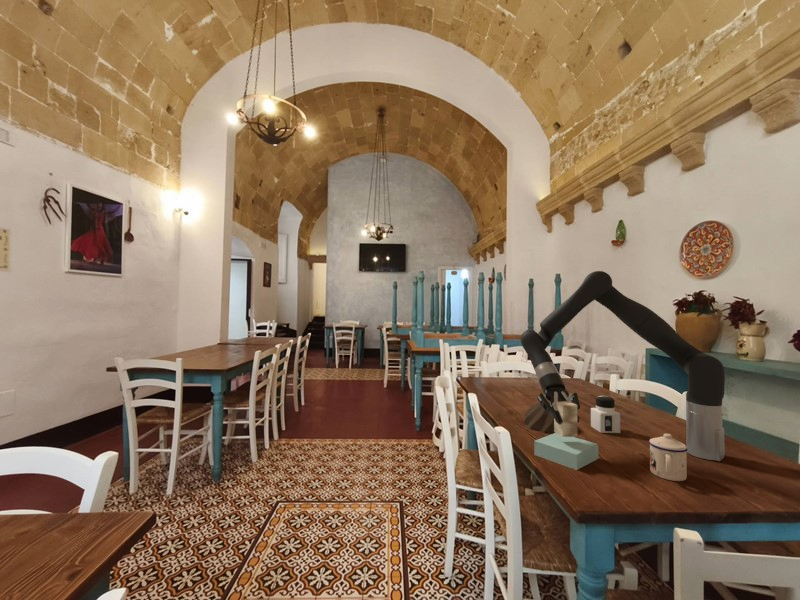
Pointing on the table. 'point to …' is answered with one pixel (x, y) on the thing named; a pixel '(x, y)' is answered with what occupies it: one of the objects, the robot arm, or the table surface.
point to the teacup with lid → (668, 458)
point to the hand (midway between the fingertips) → (569, 422)
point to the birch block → (566, 419)
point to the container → (605, 416)
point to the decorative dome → (539, 419)
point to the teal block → (566, 450)
